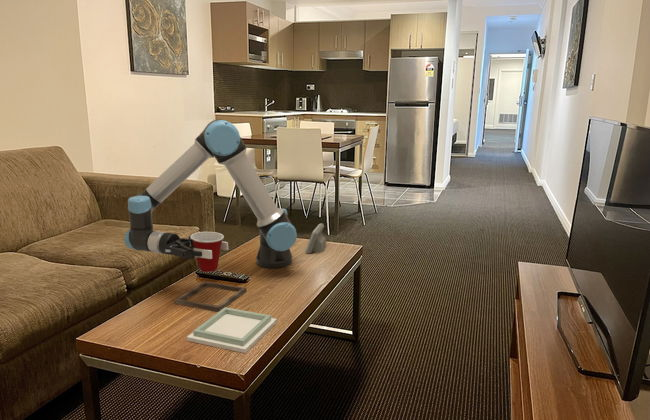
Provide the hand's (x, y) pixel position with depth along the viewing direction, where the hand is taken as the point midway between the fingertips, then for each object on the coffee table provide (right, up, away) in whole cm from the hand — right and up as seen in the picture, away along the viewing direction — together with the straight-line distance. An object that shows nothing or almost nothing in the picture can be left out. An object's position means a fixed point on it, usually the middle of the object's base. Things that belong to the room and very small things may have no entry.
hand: (219, 250), depth 153 cm
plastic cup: (-4, -7, +3) cm, 9 cm away
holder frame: (-4, -17, +6) cm, 19 cm away
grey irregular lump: (+31, -5, +59) cm, 66 cm away
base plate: (+8, -23, -17) cm, 29 cm away
